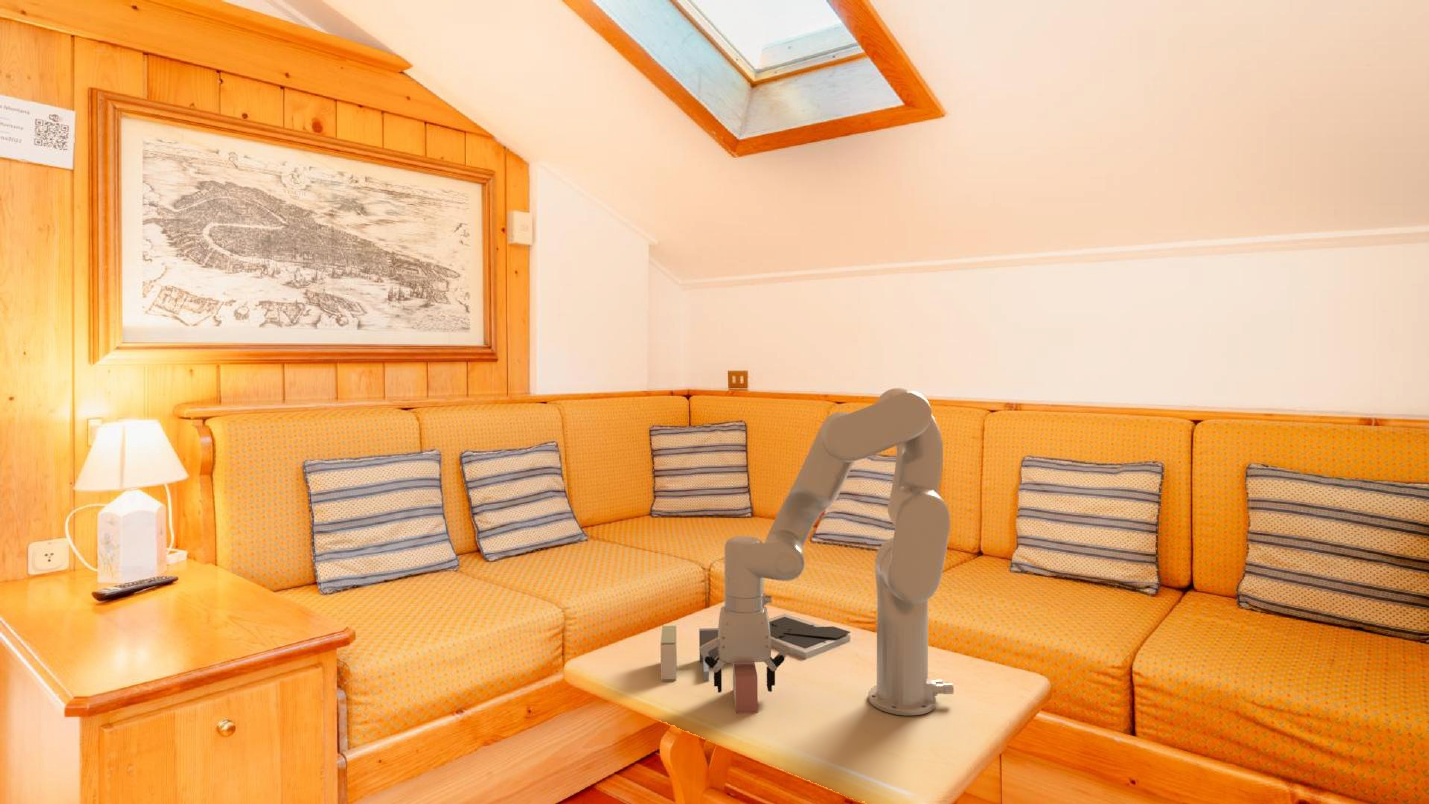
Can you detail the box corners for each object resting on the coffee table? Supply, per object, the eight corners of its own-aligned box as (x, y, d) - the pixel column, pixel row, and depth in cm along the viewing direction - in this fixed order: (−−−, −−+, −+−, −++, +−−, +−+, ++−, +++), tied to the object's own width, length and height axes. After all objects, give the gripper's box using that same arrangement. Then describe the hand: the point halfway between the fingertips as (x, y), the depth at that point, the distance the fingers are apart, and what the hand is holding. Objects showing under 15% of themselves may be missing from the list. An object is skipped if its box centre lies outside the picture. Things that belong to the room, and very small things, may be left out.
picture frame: (850, 643, 181) (784, 621, 197) (850, 631, 181) (784, 610, 197) (805, 661, 171) (739, 637, 186) (805, 649, 171) (739, 625, 186)
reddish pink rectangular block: (753, 690, 156) (753, 655, 155) (757, 713, 146) (757, 676, 145) (733, 690, 155) (732, 656, 155) (736, 713, 145) (735, 676, 145)
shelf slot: (749, 658, 171) (749, 627, 171) (753, 680, 160) (753, 646, 160) (699, 659, 171) (699, 628, 170) (700, 681, 160) (700, 647, 159)
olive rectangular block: (676, 661, 170) (676, 625, 170) (676, 680, 160) (675, 642, 159) (662, 662, 170) (662, 625, 169) (661, 681, 160) (660, 643, 159)
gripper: (786, 595, 153) (786, 680, 154) (698, 596, 153) (699, 682, 154) (791, 607, 146) (791, 697, 147) (699, 609, 145) (699, 698, 146)
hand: (744, 689), depth 150 cm, fingers open, 9 cm apart
